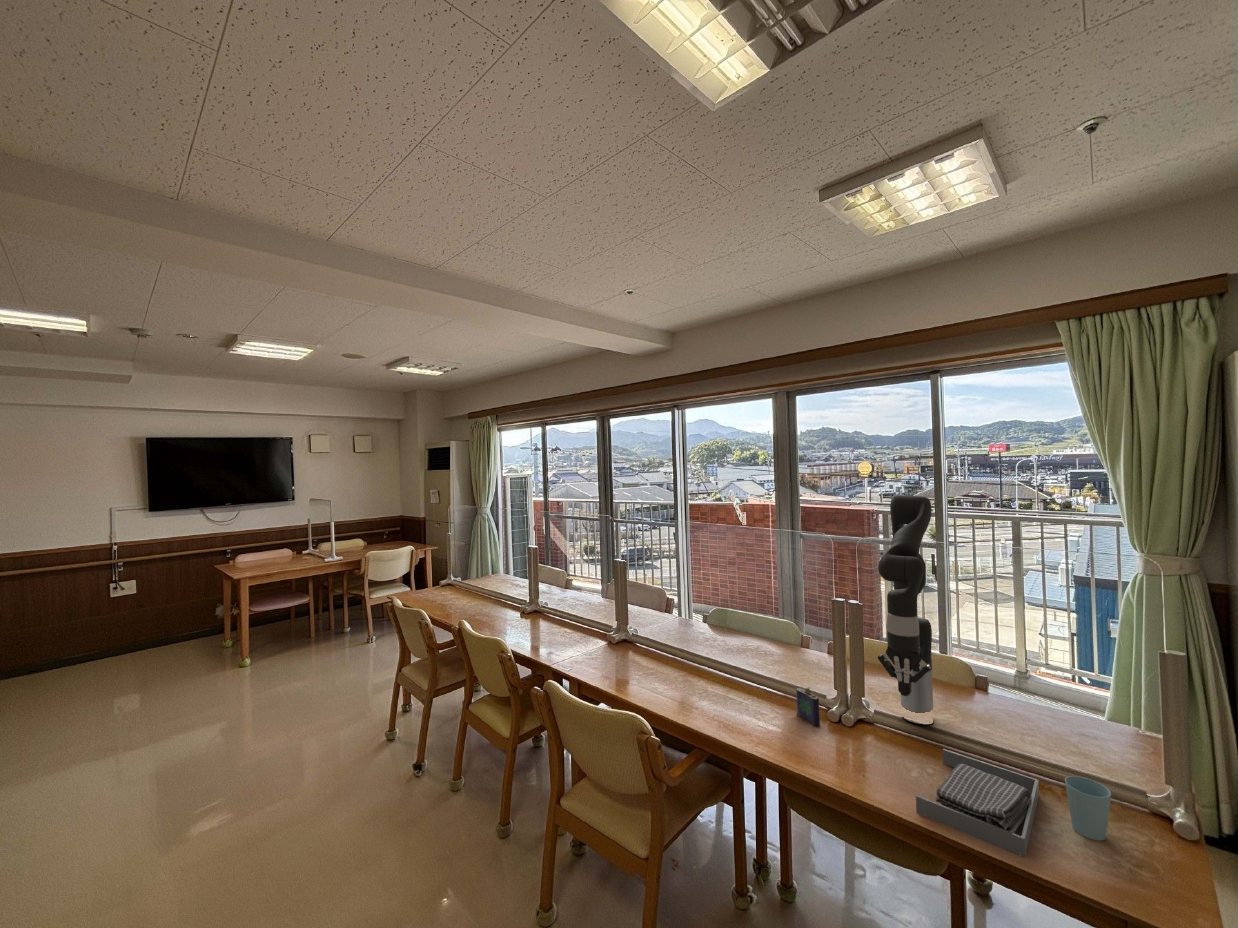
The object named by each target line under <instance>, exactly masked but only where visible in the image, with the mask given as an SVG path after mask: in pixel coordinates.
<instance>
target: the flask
mask: <svg viewBox="0 0 1238 928" xmlns="http://www.w3.org/2000/svg"><path fill="white" fill-rule="evenodd" d="M810 689H811V687H804V688H800V687H798V688H796V690H795V691H796V692H795V694H796V697H795V698H796V715H797V717H798V718H801V719H802V720H803V721H805V722H808V723H809V724H810V725H812V726H813V727H818V728H819V727H820V726H821V722H820V721H821V720H820V703H819V701H820V700H819V697H818V696H816V694H814V693H812V691H811V690H810Z"/></svg>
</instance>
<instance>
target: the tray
mask: <svg viewBox="0 0 1238 928" xmlns="http://www.w3.org/2000/svg"><path fill="white" fill-rule="evenodd" d="M942 764H943V765H945V766H948V767H951V768H953V769H954V768H955V767H956V766H957V765H958V764H965V765H968V766H971V767H973V768H975V769H978V770H980V771H983V772H985V773H988V774H991V775H995V776H997V777H1000V778H1002V779H1005V780H1007V781H1009V782H1013V783H1016V784H1018V785H1020V786H1022V787H1024V788H1026V789H1028V790H1029V791H1030V792H1031V797H1032V799H1031V800H1030V802H1029V807H1028V811H1027V815H1026V820H1025V824H1024V828H1023V831H1022V833H1021V835H1020V836H1019V835H1017V834H1014V833H1012V832H1009V831H1007V830H1004V829H1002V828H999V827H996V826H994V825H991V824H989V823H986V822H984V821H981V820H979V819H976V818H974V817H971V816H969V815H966V814H964V813H961V812H959V811H956V810H953V809H951V808H948V807H946V806H943V805H941V804H940V803H939V802H935V801H934V800H930V799H928V798H926V797H923V796H920V795H917V794H916V796H915V807H916V813H917V814H919V815H921V816H924V817H926V818H928V819H931V820H933V821H935V822H938V823H940V824H943V825H946V826H947V827H950V828H952V829H954V830H957V831H960V832H962V833H963V834H967V835H969V836H971V837H974V838H976V839H978V840H981V841H983V842H986V843H988V844H990V845H993V846H995V847H998V848H1000V849H1003V850H1004V851H1007V852H1009V853H1012V854H1015V855H1017V856H1019V855H1021V856H1020V857H1021V858H1024V857H1025V858H1027V857H1026V856H1027V851H1028V847H1029V843H1030V838H1031V833H1032V830H1033V824H1034V820H1035V816H1036V811H1037V805H1038V801H1039V796H1040V792H1039V791H1040V787H1039V779H1037V778H1034V777H1031V776H1028V775H1025V774H1022V773H1019V772H1016V771H1013V770H1011V769H1010V770H1009V769H1007V768H1003V767H1001V766H997V765H995V764H991V763H988V762H985V761H983V760H979V759H976V758H973V757H970V756H968V755H964V754H962V753H961V754H960V753H958V752H955V751H952V750H948V749H946V748H942ZM916 813H915V814H916Z"/></svg>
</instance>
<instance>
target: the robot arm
mask: <svg viewBox="0 0 1238 928" xmlns="http://www.w3.org/2000/svg"><path fill="white" fill-rule="evenodd" d="M889 505H890V506H889V507H890V509H889V511H890V523H891V533H892V534H891V535H892V536H891V537H892V541H891V544H890V547H889V548H888V549H887V551H885V552H884V553H883V555H882V556H881V557H880V559H879V562H878V566H877V570H878V573H879V575H880V577H881V579H883V580H885V581H887V582H893V589H891V590H888V591H887V595H886V600H887V601H886V603H887V607H886V608H887V616H886V635H887V636H886V638H887V639H886V640H887V648H886V650H885V652H883V653H881V654H879V655H878V656H877V660H878V661H879V662H880V663H881V665H882V667H883V668H884V669H885V671H886V672H887V673H888V675H889V676H890V677H891V678H895V679H896V680H897V689H898V692H899V693H900V706H901V705H902V707H904V708H905V709H906V710H909V711H911V712H915V713H925V712H930V711H931V710H933V711H934V693H933V691H934V689H933V688H934V687H933V662H932V643H933V642H932V641H933V639H932V638H933V635H932V634H933V630H932V624H931V622H930V620H928V619H927V618H923V617H919V616H918V596H919V594H921V592H922V591H923V590H924V588H925V586H926V583H927V571H926V570H927V565H926V562H925V560H924V558H923V555H921V553H920V550H921V543H922V539H923V537H924V535H925V534H926V532H927V530H928V527H929V524H930V523H931V519H932V502H931V500H930V498H928V497H927V496H923V495H908V494H907V495H905V494H904V495H903V494H902V495H901V494H897V495H896V494H894V495H893V496H892V497H891V499H890V503H889Z"/></svg>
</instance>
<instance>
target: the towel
mask: <svg viewBox="0 0 1238 928" xmlns="http://www.w3.org/2000/svg"><path fill="white" fill-rule="evenodd" d="M1031 795H1032V794H1031V792H1030V791H1029V790H1028V789H1026V788H1024V787H1022V786H1020V785H1018V784H1016V783H1013V782H1009V781H1007V780H1005V779H1002V778H1000V777H997V776H995V775H991V774H988V773H985V772H983V771H980V770H978V769H975V768H973V767H971V766H968V765H965V764H958V765H957V766H956V767H955V768H954V767H953V768H952V771H950V773H949V774H948V776H947V778H945V780H944V781H943V782H942V783H940V785H939V786H938V788H936V798H935V801H936V803H938V804H941V805H943V806H946V807H948V808H951V809H953V810H956V811H959V812H961V813H964V814H966V815H969V816H971V817H974V818H976V819H979V820H981V821H984V822H986V823H989V824H991V825H994V826H996V827H999V828H1002V829H1004V830H1007V831H1009V832H1012V833H1014V834H1017V835H1019V836H1022V832H1023V828H1024V824H1025V820H1026V815H1027V811H1028V807H1029V803H1030V800H1031V799H1032V797H1031Z"/></svg>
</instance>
